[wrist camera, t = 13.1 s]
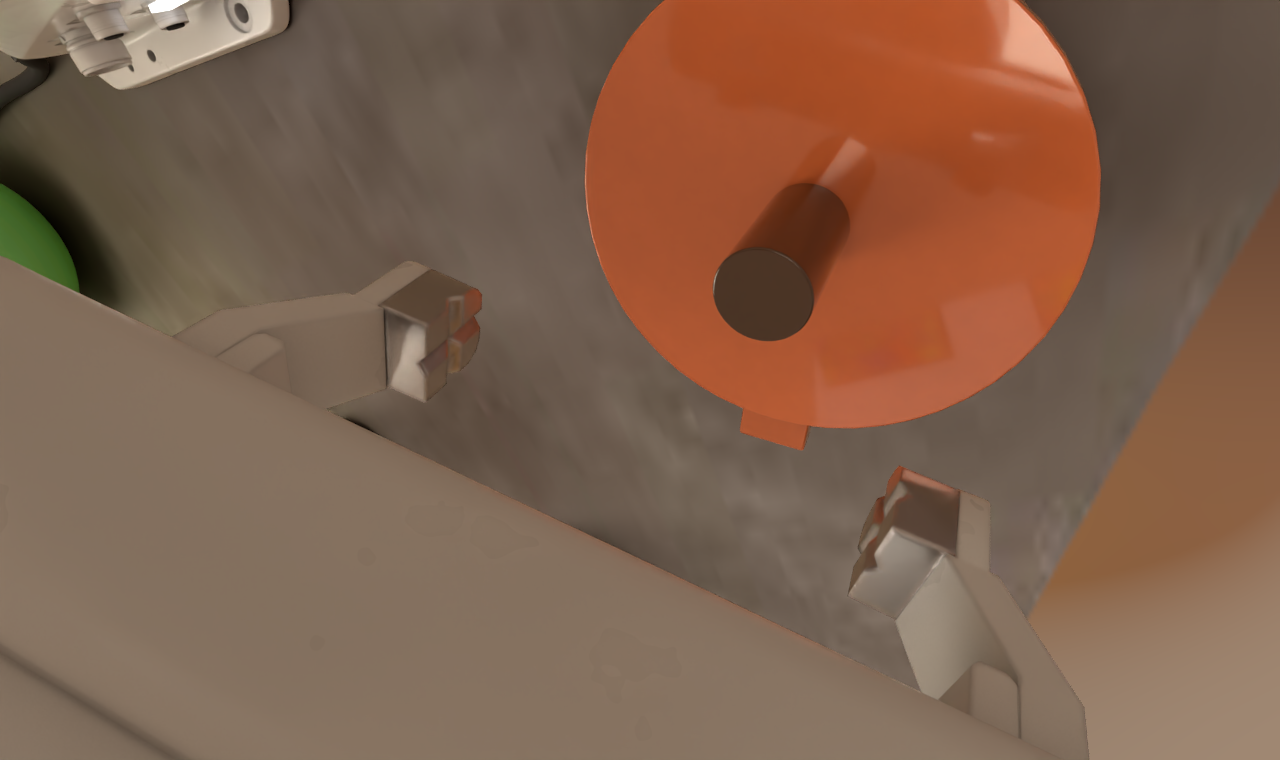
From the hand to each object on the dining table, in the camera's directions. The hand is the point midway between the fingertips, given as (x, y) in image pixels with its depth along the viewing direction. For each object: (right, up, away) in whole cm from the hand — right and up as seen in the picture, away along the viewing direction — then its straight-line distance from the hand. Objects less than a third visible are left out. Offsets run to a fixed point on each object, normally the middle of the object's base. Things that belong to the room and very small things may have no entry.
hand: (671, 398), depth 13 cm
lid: (+4, +5, +7) cm, 10 cm away
